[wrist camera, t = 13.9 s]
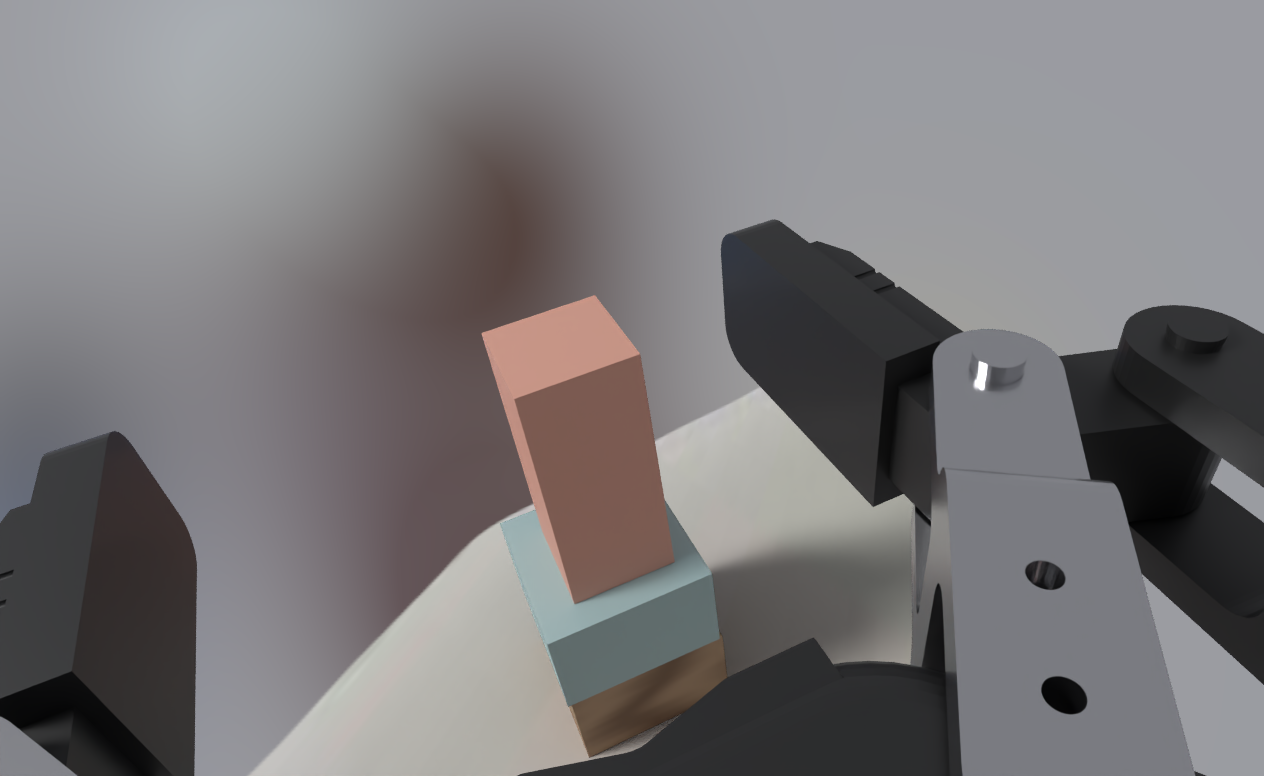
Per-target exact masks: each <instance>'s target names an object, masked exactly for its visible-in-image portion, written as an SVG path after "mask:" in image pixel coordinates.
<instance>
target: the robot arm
mask: <svg viewBox="0 0 1264 776" xmlns="http://www.w3.org/2000/svg"><path fill="white" fill-rule="evenodd" d="M721 260H722V276H723V293H724V309H725V324H726V332H727V337H728V340H729V343H730V346H731V349H732V351H733V353H734V355H735V357H736V359H737V361H738V362H739V363H740V365H741V366H742V367H743V369H744V370H745V371H746V372H747V373H748V374H749V375H750V376H751V377H752V378H753V379H754V380H755V381H756V382H757V384H758V385H759V386H760V387H761V388H762V389H763V390H764V391H765V392H766V393H767V394H768V395H769V396H770V397H771V399H772V400H773V401H774V402H775V403H776V404H777V405H778V406H779V407H780V408H781V409H782V410H783V411H784V412H785V413H786V415H787V416H788V417H789V418H790V419H791V420H792V421H793V422H794V423H795V424H796V425H797V426H798V427H799V428H800V429H801V431H802V432H803V433H804V434H805V435H806V436H807V437H808V438H809V439H810V440H811V441H812V442H813V443H814V444H815V445H816V447H817V448H818V449H819V450H820V451H821V452H822V453H823V454H824V455H825V456H826V457H827V458H828V459H829V460H830V462H831V463H832V464H833V465H834V466H835V467H836V468H837V469H838V470H839V471H840V472H841V473H842V474H843V475H844V476H845V478H846V479H847V480H848V481H849V482H850V483H851V484H852V485H853V486H854V487H855V488H856V489H857V490H858V491H859V492H860V494H861V495H862V496H863V497H864V498H865V499H866V500H867V501H868V502H869V503H870V504H871V505H872V506H873V507H874V506H876V505H879V504H881V503H883V502H886V501H888V500H890V499H893V498H895V497H897V496H899V495H902V494H904V495H905V496H906V497H907V498H908V499H909V500H910V501H911V502H912V503H913V512H912V520H911V553H912V648H911V662H910V665H908V664H901V663H895V662H878V661H862V662H846V663H839V664H832V662H831V661H830V659H829V658H828V657H827V655H826V654H825V652H824V651H823V650H822V648H821V647H820V645H819V644H818V643H817V641H816V640H815V639H814V638H812V639H809V640H807V641H805V642H803V643H801V644H799V645H797V646H794V647H792V648H790V649H788V650H786V651H784V652H781V653H779V654H777V655H775V656H773V657H771V658H769V659H766V660H764V661H762V662H760V663H758V664H756V665H754V666H751V667H749V668H747V669H745V670H743V671H741V672H739V673H736V674H734V675H732V676H730V677H728V678H726V679H724V680H723V681H722V682H720V683H719V684H718V685H717V686H715V687H714V688H713V689H712V690H711V691H709V692H708V693H707V694H706V695H705V696H703V697H702V698H701V699H700V700H699V701H697V702H696V703H695V704H694V705H692V706H691V707H690V708H689V709H688V710H686V711H685V712H684V713H683V714H682V715H680V716H679V717H678V718H677V719H676V720H674V721H673V722H672V723H671V724H670V725H668V726H667V727H666V728H665V729H663V730H662V731H661V732H660V733H659V734H657V735H656V736H655V737H654V738H653V739H651V740H650V741H649V742H648V743H646V744H645V745H644V746H642V747H641V748H639V749H636V750H634V751H632V752H628V753H624V754H619V755H614V756H609V757H604V758H599V759H594V760H589V761H584V762H579V763H574V764H569V765H564V766H558V767H553V768H548V769H543V770H538V771H533V772H528V773H523V774H520V775H518V776H1205V775H1203V774H1200V773H1198V772H1195V771H1194V770H1193V765H1192V761H1191V758H1190V754H1189V750H1188V747H1187V743H1186V739H1185V735H1184V731H1183V728H1182V724H1181V720H1180V717H1179V713H1178V709H1177V705H1176V702H1175V698H1174V694H1173V690H1172V686H1171V683H1170V679H1169V675H1168V671H1167V668H1166V664H1165V660H1164V657H1163V653H1162V649H1161V645H1160V641H1159V638H1158V634H1157V630H1156V626H1155V623H1154V619H1153V615H1152V611H1151V608H1150V604H1149V600H1148V596H1147V592H1146V589H1145V585H1144V581H1143V577H1142V574H1143V575H1144V576H1145V577H1146V578H1147V579H1148V580H1149V581H1150V582H1152V583H1153V584H1154V585H1155V586H1156V587H1157V588H1158V589H1160V591H1161V592H1162V593H1164V594H1165V595H1166V596H1167V597H1168V598H1169V599H1170V600H1171V601H1172V602H1173V603H1174V604H1176V605H1177V606H1178V607H1179V608H1180V609H1181V610H1182V611H1183V612H1184V613H1186V614H1187V615H1188V616H1189V617H1190V618H1191V619H1192V620H1193V621H1194V622H1195V623H1196V624H1198V625H1199V626H1200V627H1201V628H1202V629H1203V630H1204V631H1205V632H1206V633H1207V634H1209V635H1210V636H1211V637H1212V638H1213V639H1214V640H1215V641H1216V642H1217V643H1218V644H1220V645H1221V646H1222V647H1223V648H1224V649H1225V650H1226V651H1227V652H1228V653H1230V655H1232V656H1233V657H1234V658H1235V659H1236V660H1237V661H1238V662H1239V663H1240V664H1241V665H1243V666H1244V667H1245V668H1246V669H1247V670H1248V671H1249V672H1250V673H1251V674H1253V675H1254V676H1255V677H1256V678H1257V679H1258V680H1259V681H1260V682H1261V683H1262V684H1263V685H1264V523H1263V522H1262V521H1261V520H1259V519H1258V518H1257V517H1255V516H1254V515H1253V514H1251V513H1250V512H1249V511H1247V510H1246V509H1245V508H1243V507H1242V506H1241V505H1239V504H1238V503H1237V502H1235V501H1234V500H1233V499H1231V498H1230V497H1229V496H1227V495H1226V494H1225V493H1223V492H1222V491H1221V490H1219V489H1218V488H1217V487H1215V486H1213V485H1212V484H1211V481H1212V478H1213V476H1214V474H1215V472H1216V470H1217V467H1218V465H1219V463H1220V461H1221V458H1223V459H1224V460H1226V461H1227V462H1229V463H1230V464H1232V465H1233V466H1234V467H1236V468H1237V469H1238V470H1240V471H1241V472H1243V473H1244V474H1246V475H1247V476H1248V477H1250V478H1251V479H1253V480H1254V481H1255V482H1257V483H1258V484H1260V485H1261V486H1262V487H1264V334H1262V333H1261V332H1259V331H1257V330H1255V329H1254V328H1252V327H1250V326H1248V325H1246V324H1245V323H1243V322H1241V321H1239V320H1237V319H1235V318H1233V317H1230V316H1228V315H1225V314H1222V313H1219V312H1216V311H1212V310H1209V309H1204V308H1199V307H1191V306H1178V305H1172V306H1171V305H1170V306H1158V307H1152V308H1148V309H1145V310H1142V311H1140V312H1138V313H1136V314H1134V315H1133V316H1131V317H1130V318H1129V319H1128V320H1127V322H1126V324H1125V326H1124V329H1123V332H1122V336H1121V339H1120V342H1119V345H1118V349H1113V350H1105V351H1097V352H1089V353H1082V354H1073V355H1066V356H1058V355H1057V354H1056V353H1055V352H1054V351H1052V349H1051V348H1049V347H1048V346H1046V345H1045V344H1043V343H1041V342H1040V341H1037V340H1036V339H1033V338H1031V337H1028V336H1025V335H1022V334H1019V333H1015V332H1010V331H1005V330H996V329H980V330H971V331H967V332H963V331H961V330H960V329H958V328H957V327H956V326H954V325H953V324H952V323H950V322H949V321H947V320H946V319H944V318H943V317H942V316H940V315H939V314H937V313H936V312H935V311H933V310H932V309H930V308H929V307H928V306H926V305H925V304H923V303H922V302H921V301H919V300H918V299H916V298H915V297H914V296H912V295H911V294H909V293H908V292H906V291H905V290H904V289H902V288H901V287H897V288H896V287H895V284H894V282H892V281H891V280H890V279H888V278H887V277H885V276H884V275H882V274H881V273H876V272H875V269H874V268H873V267H871V266H870V265H868V264H867V263H866V262H864V261H863V260H861V259H860V258H859V257H857V256H856V255H854V254H853V253H851V252H849V251H846V250H843V249H840V248H837V247H834V246H831V245H828V244H825V243H822V242H818V241H816V242H813V243H808V242H807V241H806V240H804V239H803V238H801V237H800V236H799V235H798V234H796V233H795V232H794V231H792V230H791V229H790V228H788V227H787V226H785V225H784V224H783V223H782V222H780V221H778V220H770V221H767V222H764V223H761V224H757V225H754V226H751V227H748V228H745V229H742V230H739V231H736V232H733V233H730V234H727V235H726V236H725V237H724V238H723V241H722V245H721ZM1141 573H1142V574H1141ZM196 585H197V562H196V555H195V550H194V547H193V543H192V540H191V537H190V534H189V532H188V530H187V527H186V525H185V523H184V522H183V520H182V518H181V516H180V515H179V513H178V512H177V511H176V509H175V508H174V506H173V505H172V503H171V502H170V500H169V499H168V497H167V496H166V494H165V493H164V491H163V490H162V489H161V487H160V486H159V484H158V483H157V481H156V480H155V478H154V477H153V475H152V474H151V472H150V471H149V469H148V468H147V467H146V465H145V464H144V462H143V461H142V459H141V458H140V456H139V455H138V454H137V452H136V450H135V449H134V447H133V446H132V445H131V443H130V442H129V441H128V440H127V439H126V438H125V437H124V436H123V435H122V434H121V433H119V432H116V431H114V432H110V433H107V434H103V435H100V436H97V437H94V438H91V439H88V440H85V441H82V442H79V443H76V444H73V445H69V446H66V447H64V448H60V449H58V450H54V451H51V452H48V453H46V454H44V456H43V457H42V460H41V462H40V466H39V470H38V475H37V479H36V483H35V487H34V491H33V495H32V499H31V503H30V504H27V505H24V506H21V507H18V508H15V509H12V510H10V511H9V513H8V514H7V515H6V516H5V518H4V519H3V520H2V522H1V523H0V776H194V754H195V746H194V745H195V674H196V592H197V589H196V587H197V586H196Z"/></svg>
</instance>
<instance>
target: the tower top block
mask: <svg viewBox="0 0 1264 776" xmlns="http://www.w3.org/2000/svg"><path fill="white" fill-rule="evenodd" d="M665 506H666V512H667V518H668V525H669V531H670V537H671V543H672V549H673V555H674V561H675V562H674V563H671V564H669V565H667V566H664V567H662V568H659V569H657V570H655V571H652V572H650V573H648V574H645V575H643V576H640V577H638V578H636V579H633V580H631V581H629V582H626V583H624V584H621V585H619V586H617V587H614V588H612V589H610V590H607V591H605V592H603V593H600V594H598V595H595V596H593V597H591V598H588V599H586V600H584V601H581V602H579V603H576V604H574V602H573V600H572V597H571V595H570V593H569V591H568V588H567V586H566V584H565V582H564V579H563V577H562V575H561V573H560V570H559V568H558V566H557V564H556V561H555V559H554V557H553V555H552V552H551V550H550V548H549V545H548V543H547V541H546V539H545V536H544V534H543V532H542V529H541V526H540V522H539V519H538V516H537V513H536V510H533V511H531V512H528V513H526V514H523V515H521V516H518V517H516V518H513V519H510V520H508V521H505V522H503V523H500V525H501V528H502V531H503V534H504V537H505V540H506V543H507V545H508V548H509V551H510V554H511V557H512V560H513V563H514V566H515V569H516V571H517V574H518V577H519V580H520V583H521V586H522V588H523V591H524V594H525V596H526V599H527V601H528V604H529V607H530V609H531V612H532V614H533V617H534V620H535V622H536V625H537V627H538V630H539V632H540V635H541V638H542V640H543V643H544V645H545V648H546V651H547V653H548V656H549V658H550V661H551V664H552V666H553V669H554V671H555V674H556V676H557V679H558V682H559V684H560V687H561V689H562V692H563V695H564V697H565V700H566V702H567V705H568V707H569V706H572V705H574V704H576V703H578V702H580V701H583V700H585V699H587V698H589V697H592V696H594V695H596V694H598V693H600V692H603V691H605V690H607V689H609V688H612V687H614V686H616V685H618V684H620V683H623V682H625V681H627V680H629V679H631V678H634V677H636V676H638V675H640V674H643V673H645V672H647V671H649V670H651V669H654V668H656V667H658V666H660V665H663V664H665V663H667V662H669V661H671V660H674V659H676V658H678V657H680V656H683V655H685V654H687V653H689V652H691V651H694V650H696V649H698V648H700V647H702V646H705V645H707V644H709V643H711V642H714V641H716V640H718V639H720V636H719V627H718V619H717V611H716V602H715V594H714V585H713V577H712V573H711V571H710V570H709V568H708V567H707V565H706V563H705V562H704V560H703V559H702V557H701V556H700V554H699V553H698V551H697V549H696V548H695V546H694V545H693V543H692V542H691V540H690V539H689V537H688V535H687V534H686V532H685V531H684V529H683V528H682V526H681V525H680V523H679V521H678V520H677V518H676V517H675V515H674V514H673V512H672V511H671V509H670V507H669V506H668V504H667V503H666V501H665Z"/></svg>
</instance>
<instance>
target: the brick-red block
mask: <svg viewBox="0 0 1264 776" xmlns="http://www.w3.org/2000/svg"><path fill="white" fill-rule="evenodd" d="M482 336H483V340H484V343H485V346H486V349H487V353H488V356H489V359H490V362H491V366H492V369H493V372H494V375H495V379H496V382H497V385H498V389H499V392H500V395H501V398H502V402H503V405H504V408H505V411H506V415H507V418H508V421H509V424H510V427H511V431H512V434H513V438H514V441H515V444H516V447H517V451H518V454H519V457H520V460H521V463H522V467H523V470H524V473H525V477H526V480H527V483H528V487H529V490H530V493H531V496H532V500H533V503H534V506H535V509H536V513H537V516H538V519H539V522H540V526H541V529H542V532H543V534H544V536H545V539H546V541H547V543H548V545H549V548H550V550H551V552H552V555H553V557H554V559H555V561H556V564H557V566H558V568H559V570H560V573H561V575H562V577H563V579H564V582H565V584H566V586H567V588H568V591H569V593H570V595H571V597H572V600H573V602H574V604H576V603H579V602H581V601H584V600H586V599H588V598H591V597H593V596H595V595H598V594H600V593H603V592H605V591H607V590H610V589H612V588H614V587H617V586H619V585H621V584H624V583H626V582H629V581H631V580H633V579H636V578H638V577H640V576H643V575H645V574H648V573H650V572H652V571H655V570H657V569H659V568H662V567H664V566H667V565H669V564H671V563H674V562H675V561H674V555H673V549H672V543H671V537H670V531H669V525H668V518H667V512H666V506H665V500H664V494H663V488H662V482H661V476H660V470H659V464H658V458H657V452H656V446H655V440H654V434H653V428H652V422H651V417H650V410H649V405H648V398H647V392H646V386H645V380H644V375H643V368H642V363H641V357H640V353H639V352H638V351H637V349H636V348H635V347H634V345H633V344H632V343H631V342H630V341H629V339H628V338H627V337H626V335H625V334H624V333H623V331H622V330H621V329H620V327H619V326H618V325H617V323H616V322H615V321H614V320H613V318H612V317H611V316H610V314H609V313H608V312H607V310H606V309H605V308H604V307H603V305H602V304H601V303H600V301H599V300H598V299H597V298H596V296H595V295H594V296H591V297H588V298H585V299H582V300H579V301H576V302H574V303H570V304H567V305H564V306H562V307H558V308H555V309H552V310H550V311H546V312H543V313H540V314H538V315H535V316H532V317H529V318H526V319H523V320H520V321H517V322H514V323H511V324H508V325H505V326H502V327H499V328H496V329H493V330H490V331H487V332H484V333H482Z"/></svg>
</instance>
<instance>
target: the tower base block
mask: <svg viewBox="0 0 1264 776" xmlns="http://www.w3.org/2000/svg"><path fill="white" fill-rule="evenodd" d="M719 636H720V639H718V640H716V641H714V642H711V643H709V644H707V645H705V646H702V647H700V648H698V649H696V650H694V651H691V652H689V653H687V654H685V655H683V656H680V657H678V658H676V659H674V660H671V661H669V662H667V663H665V664H663V665H660V666H658V667H656V668H654V669H651V670H649V671H647V672H645V673H643V674H640V675H638V676H636V677H634V678H631V679H629V680H627V681H625V682H623V683H620V684H618V685H616V686H614V687H612V688H609V689H607V690H605V691H603V692H600V693H598V694H596V695H594V696H592V697H589V698H587V699H585V700H583V701H580V702H578V703H576V704H574V705H572V706H569V708H570V710H571V713H572V715H573V718H574V720H575V723H576V725H577V728H578V730H579V733H580V736H581V738H582V741H583V743H584V746H585V748H586V751H587V753H588V756H589V758H590V757H592V756H594V755H596V754H598V753H600V752H602V751H604V750H606V749H608V748H610V747H613V746H615V745H617V744H619V743H621V742H623V741H625V740H627V739H629V738H631V737H633V736H636V735H638V734H640V733H642V732H644V731H646V730H648V729H650V728H652V727H654V726H656V725H659V724H661V723H663V722H665V721H667V720H669V719H671V718H673V717H675V716H677V715H679V714H681V713H684V712H685V711H686V710H688V709H689V708H690V707H691V706H692V705H694V704H695V703H696V702H697V701H699V700H700V699H701V698H702V697H703V696H705V695H706V694H707V693H708V692H709V691H711V690H712V689H713V688H714V687H715V686H717V685H718V684H719V683H720V682H722V681H723V680H724V679H726V678H727V671H726V663H725V654H724V645H723V637H722V635H721V633H720V631H719Z"/></svg>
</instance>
